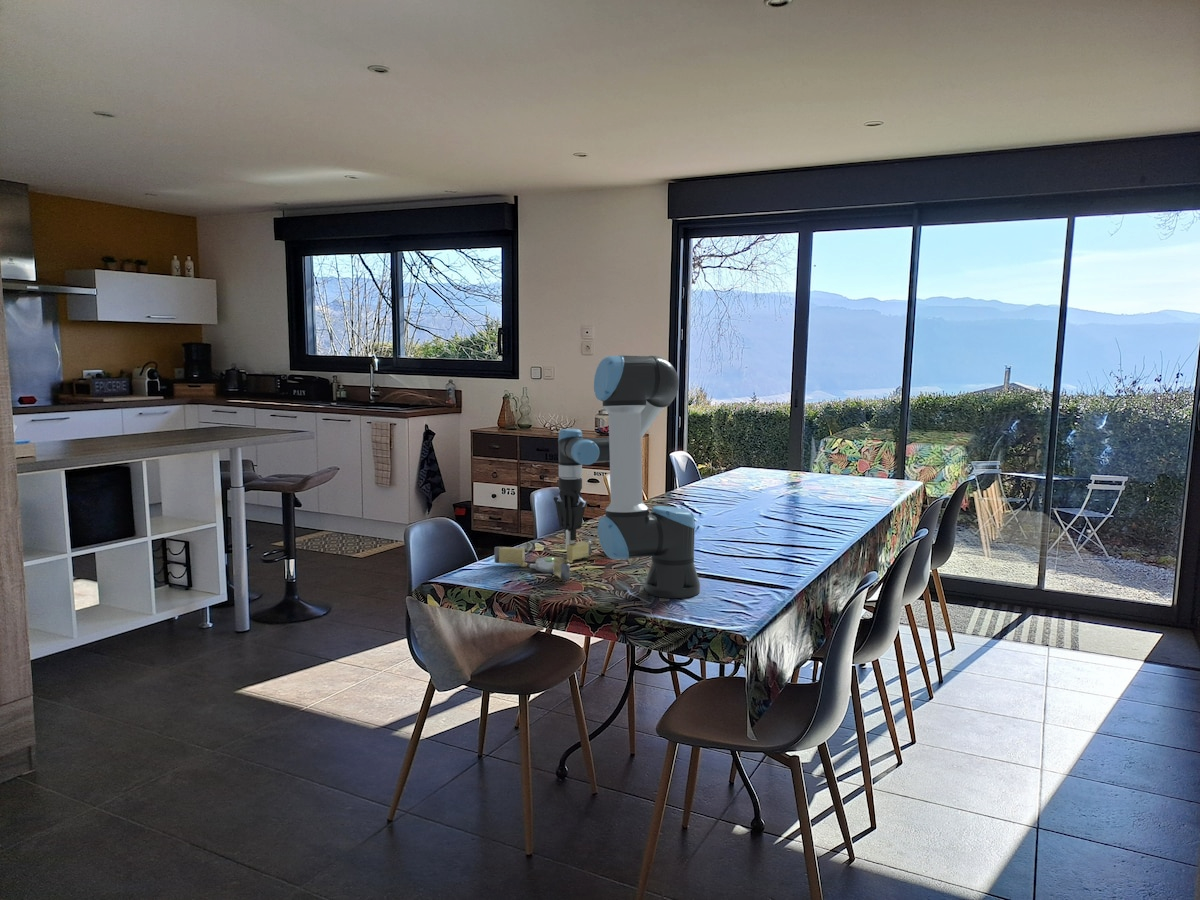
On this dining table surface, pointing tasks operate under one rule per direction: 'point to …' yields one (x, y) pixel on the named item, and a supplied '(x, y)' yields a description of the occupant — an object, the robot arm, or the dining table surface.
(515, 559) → the yellow and grey block
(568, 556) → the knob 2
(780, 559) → the dining table surface
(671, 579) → the robot arm
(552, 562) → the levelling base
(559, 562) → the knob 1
